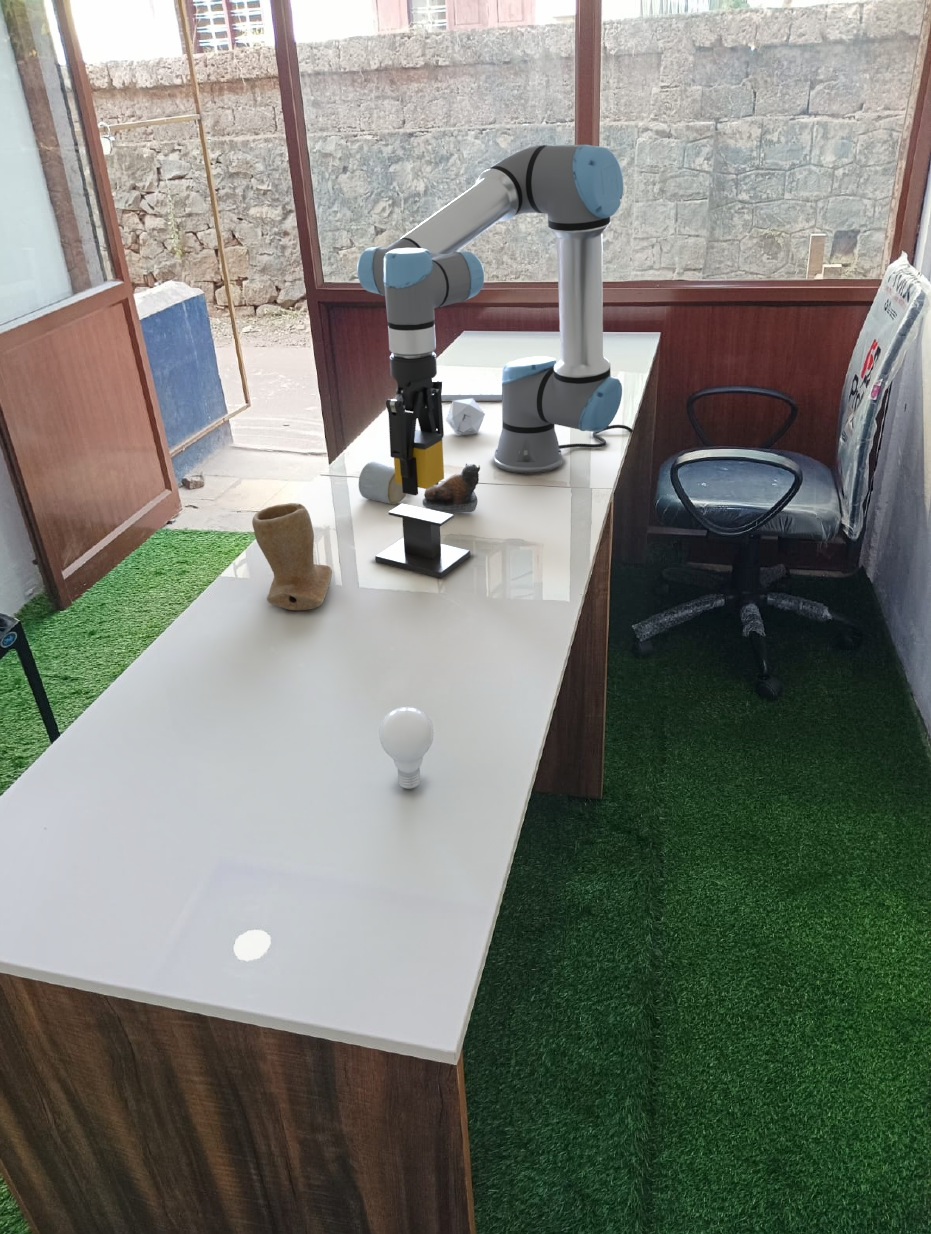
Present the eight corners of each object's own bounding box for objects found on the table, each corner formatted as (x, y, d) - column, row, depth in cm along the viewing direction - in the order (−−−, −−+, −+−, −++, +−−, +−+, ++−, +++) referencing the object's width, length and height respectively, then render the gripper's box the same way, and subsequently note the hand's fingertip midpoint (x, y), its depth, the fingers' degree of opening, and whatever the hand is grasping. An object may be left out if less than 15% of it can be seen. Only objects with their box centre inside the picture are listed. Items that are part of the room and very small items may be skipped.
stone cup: (271, 573, 162) (259, 493, 155) (337, 572, 162) (329, 493, 154) (250, 615, 149) (237, 531, 142) (323, 615, 149) (313, 530, 141)
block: (413, 472, 162) (410, 428, 158) (444, 478, 159) (442, 434, 155) (395, 482, 158) (392, 438, 154) (427, 489, 155) (424, 444, 151)
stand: (406, 541, 173) (403, 496, 168) (470, 556, 166) (469, 510, 162) (375, 561, 165) (371, 515, 161) (441, 578, 159) (439, 531, 154)
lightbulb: (383, 770, 114) (377, 697, 108) (434, 767, 114) (430, 694, 109) (383, 805, 108) (377, 730, 103) (437, 801, 109) (433, 726, 103)
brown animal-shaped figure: (418, 513, 184) (416, 466, 179) (430, 500, 190) (428, 454, 184) (475, 520, 180) (474, 471, 175) (485, 506, 186) (485, 459, 181)
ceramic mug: (391, 510, 185) (389, 474, 182) (358, 503, 189) (356, 467, 185) (420, 493, 193) (418, 459, 190) (388, 487, 197) (386, 452, 193)
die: (439, 436, 228) (446, 411, 219) (451, 409, 232) (458, 384, 223) (471, 448, 228) (479, 424, 219) (482, 422, 232) (491, 397, 223)
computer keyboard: (571, 382, 264) (571, 377, 264) (572, 401, 248) (572, 395, 247) (423, 382, 268) (423, 376, 267) (415, 400, 252) (415, 394, 251)
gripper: (424, 337, 156) (430, 466, 168) (359, 363, 142) (371, 502, 154) (462, 341, 152) (466, 473, 164) (399, 369, 139) (408, 510, 150)
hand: (420, 487), depth 159 cm, fingers closed on block, 5 cm apart
